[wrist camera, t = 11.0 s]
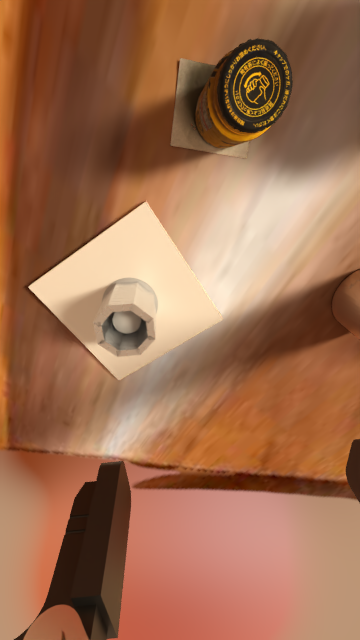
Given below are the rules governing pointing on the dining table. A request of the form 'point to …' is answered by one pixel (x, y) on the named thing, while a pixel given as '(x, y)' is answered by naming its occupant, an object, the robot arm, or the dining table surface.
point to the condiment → (231, 98)
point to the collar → (126, 299)
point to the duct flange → (127, 266)
